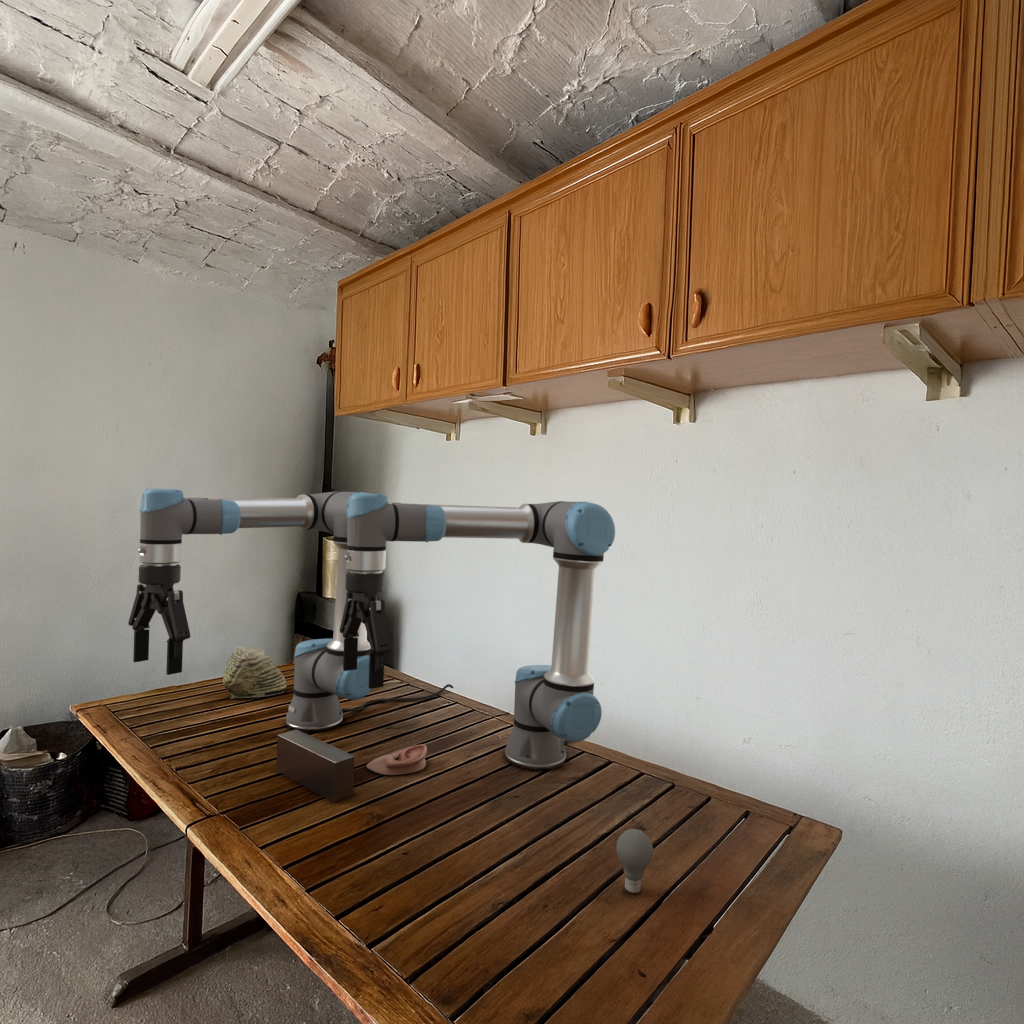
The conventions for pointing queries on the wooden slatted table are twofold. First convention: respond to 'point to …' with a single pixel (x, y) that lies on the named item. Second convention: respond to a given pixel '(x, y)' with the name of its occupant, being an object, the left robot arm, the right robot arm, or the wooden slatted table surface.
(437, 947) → the wooden slatted table surface
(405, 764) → the anatomical model
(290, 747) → the bar
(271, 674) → the fossil
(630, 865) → the light bulb
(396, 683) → the wooden slatted table surface
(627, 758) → the wooden slatted table surface
